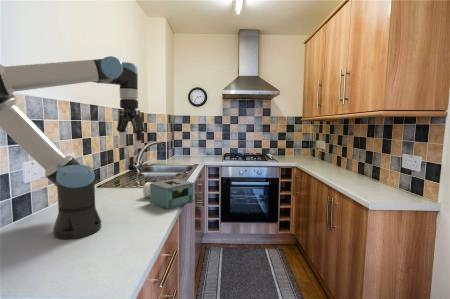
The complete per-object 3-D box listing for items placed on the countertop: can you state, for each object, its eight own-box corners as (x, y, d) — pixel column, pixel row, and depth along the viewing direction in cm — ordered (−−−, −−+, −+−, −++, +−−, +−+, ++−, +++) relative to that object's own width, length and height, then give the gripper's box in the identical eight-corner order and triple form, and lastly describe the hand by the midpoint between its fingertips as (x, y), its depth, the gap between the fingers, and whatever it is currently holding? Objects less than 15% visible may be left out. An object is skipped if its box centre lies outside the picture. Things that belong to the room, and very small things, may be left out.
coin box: (167, 209, 117) (166, 188, 116) (150, 203, 126) (150, 183, 125) (193, 202, 129) (193, 182, 128) (176, 196, 138) (176, 178, 137)
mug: (160, 200, 131) (160, 185, 131) (143, 199, 133) (142, 184, 133) (170, 194, 143) (170, 180, 142) (153, 193, 145) (153, 179, 144)
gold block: (178, 201, 127) (183, 188, 126) (174, 201, 124) (178, 188, 123) (171, 196, 130) (176, 183, 129) (167, 196, 128) (171, 183, 127)
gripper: (152, 98, 107) (152, 148, 109) (123, 101, 123) (124, 145, 125) (135, 96, 101) (136, 149, 103) (108, 100, 118) (109, 145, 120)
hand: (130, 147), depth 114 cm, fingers open, 13 cm apart
